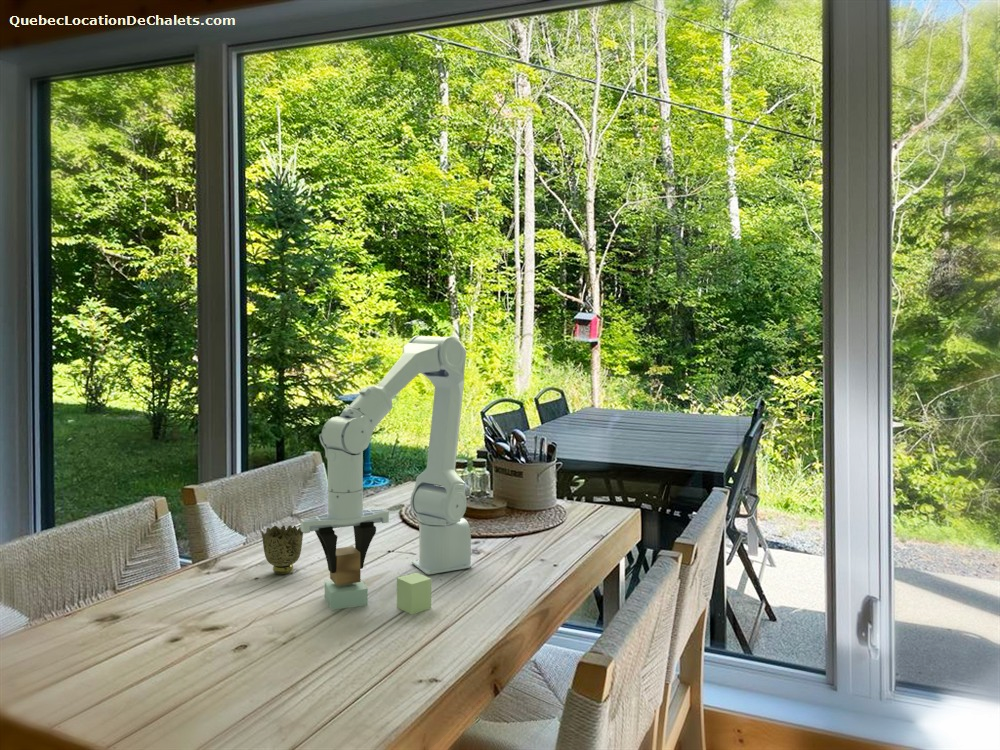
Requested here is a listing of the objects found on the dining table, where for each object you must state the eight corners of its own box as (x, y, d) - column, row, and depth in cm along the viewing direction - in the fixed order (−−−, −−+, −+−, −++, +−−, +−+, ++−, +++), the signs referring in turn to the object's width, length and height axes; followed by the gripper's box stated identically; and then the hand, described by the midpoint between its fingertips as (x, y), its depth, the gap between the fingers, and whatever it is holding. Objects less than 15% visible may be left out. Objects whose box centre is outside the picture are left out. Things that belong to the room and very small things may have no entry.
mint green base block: (359, 594, 132) (359, 577, 132) (367, 606, 126) (367, 588, 126) (324, 598, 130) (324, 581, 129) (331, 611, 124) (330, 593, 124)
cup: (292, 580, 137) (291, 537, 137) (254, 577, 139) (254, 534, 138) (310, 567, 145) (310, 526, 144) (274, 564, 146) (274, 523, 145)
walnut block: (352, 574, 131) (352, 546, 130) (360, 581, 127) (360, 552, 127) (330, 578, 129) (329, 549, 128) (337, 585, 125) (336, 555, 125)
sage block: (416, 601, 128) (416, 572, 128) (431, 608, 125) (431, 578, 125) (396, 607, 125) (397, 577, 125) (411, 614, 123) (411, 584, 122)
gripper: (378, 480, 134) (378, 556, 135) (295, 488, 127) (296, 568, 128) (393, 488, 127) (393, 567, 128) (306, 497, 120) (307, 581, 121)
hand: (345, 569), depth 128 cm, fingers closed on walnut block, 4 cm apart
